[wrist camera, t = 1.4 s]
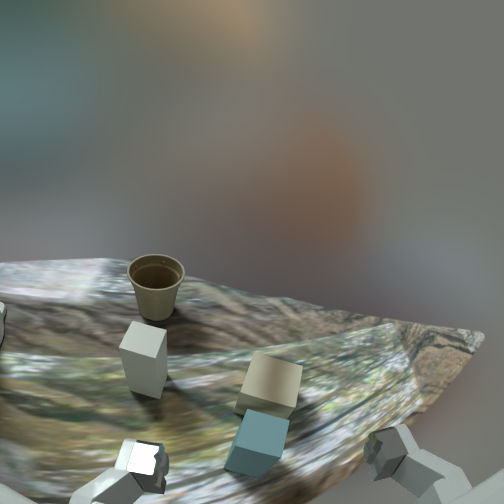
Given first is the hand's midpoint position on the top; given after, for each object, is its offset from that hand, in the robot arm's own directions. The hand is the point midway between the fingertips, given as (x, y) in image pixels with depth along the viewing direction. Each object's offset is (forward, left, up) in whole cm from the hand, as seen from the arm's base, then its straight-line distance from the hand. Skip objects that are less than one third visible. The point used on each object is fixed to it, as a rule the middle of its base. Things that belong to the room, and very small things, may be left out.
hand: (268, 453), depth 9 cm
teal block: (+2, +8, -26) cm, 27 cm away
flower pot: (-20, +28, -26) cm, 43 cm away
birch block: (+2, +18, -26) cm, 32 cm away
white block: (-14, +14, -26) cm, 33 cm away
